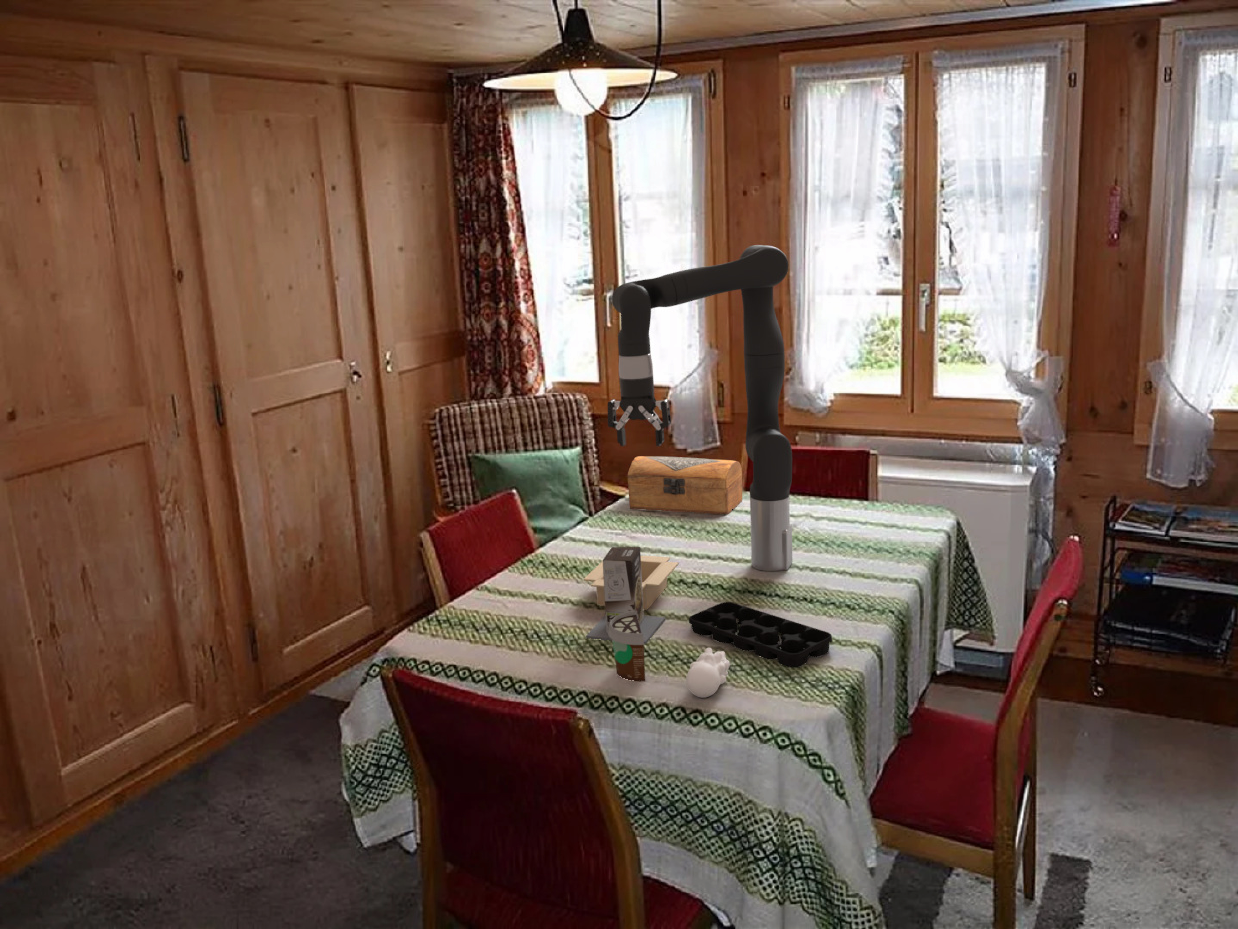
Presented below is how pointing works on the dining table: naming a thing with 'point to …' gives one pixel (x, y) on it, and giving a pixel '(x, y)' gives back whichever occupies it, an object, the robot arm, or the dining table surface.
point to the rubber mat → (646, 627)
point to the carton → (652, 578)
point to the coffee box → (622, 583)
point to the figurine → (707, 673)
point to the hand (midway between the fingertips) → (640, 445)
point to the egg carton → (761, 633)
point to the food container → (628, 646)
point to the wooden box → (684, 484)
